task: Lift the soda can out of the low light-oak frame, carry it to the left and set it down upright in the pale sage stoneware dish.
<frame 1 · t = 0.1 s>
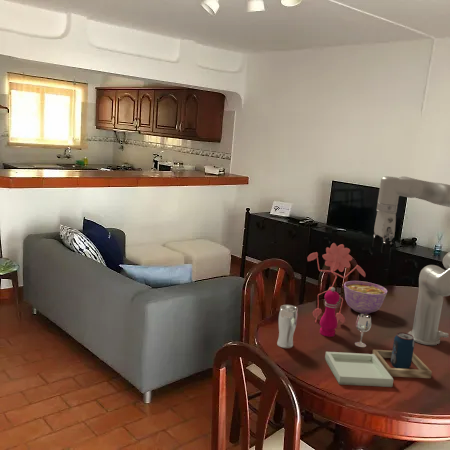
hand: (380, 250, 193), 37 cm above the table, tool pointing down, fingers open, 9 cm apart
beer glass: (284, 345, 185), on the table
oak frame: (400, 366, 175), on the table
sage dish: (356, 372, 167), on the table
bowl of food: (362, 310, 230), on the table
wineglass: (360, 345, 191), on the table
pepper mill: (327, 334, 199), on the table
soda can: (400, 367, 175), resting in oak frame
figurine: (329, 320, 214), on the table
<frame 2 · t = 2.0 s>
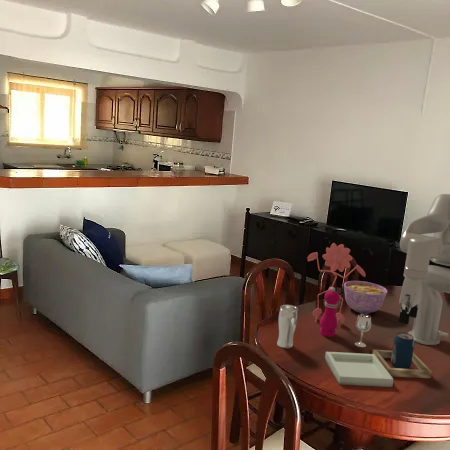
hand: (407, 319, 171), 18 cm above the table, tool pointing down, fingers open, 9 cm apart
nothing on the table moved.
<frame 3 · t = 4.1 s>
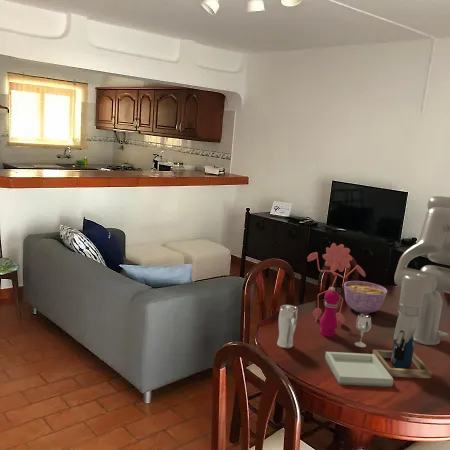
hand: (401, 355, 174), 4 cm above the table, tool pointing down, fingers closed on soda can, 7 cm apart
soda can: (400, 367, 175), resting in oak frame, touching gripper
everything else where it was.
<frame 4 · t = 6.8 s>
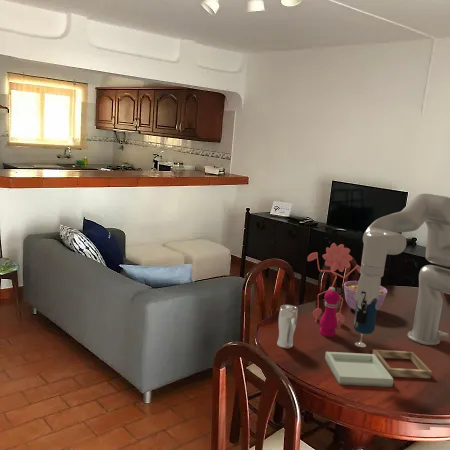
hand: (364, 319, 164), 19 cm above the table, tool pointing down, fingers closed on soda can, 7 cm apart
soda can: (363, 331, 165), point 15 cm above the table, touching gripper
everything else where it was.
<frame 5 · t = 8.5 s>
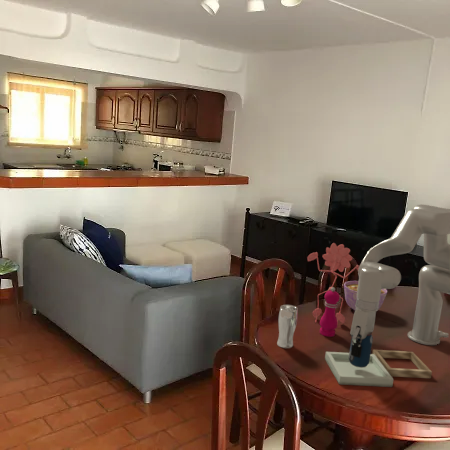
hand: (359, 352, 166), 7 cm above the table, tool pointing down, fingers closed on soda can, 7 cm apart
soda can: (358, 364, 167), point 3 cm above the table, touching gripper
everything else where it was.
when the fingers open (7 cm above the table, at t = 9.6 s): soda can drops 1 cm, resting on sage dish.
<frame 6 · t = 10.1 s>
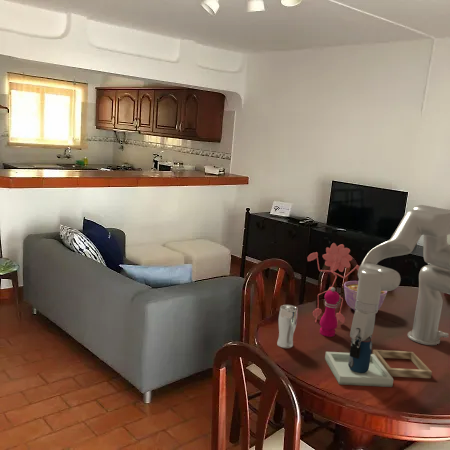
hand: (359, 352, 166), 7 cm above the table, tool pointing down, fingers open, 9 cm apart
soda can: (357, 370, 168), point 1 cm above the table, touching sage dish
everything else where it was.
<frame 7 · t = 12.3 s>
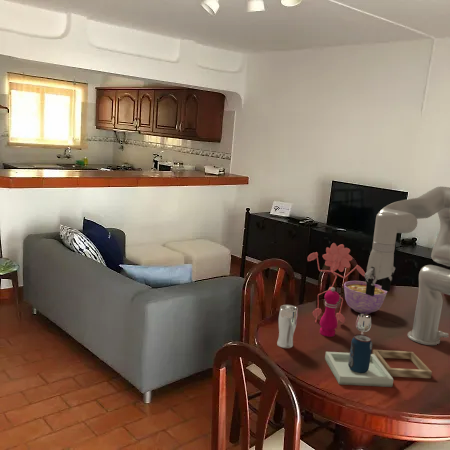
hand: (377, 292, 175), 25 cm above the table, tool pointing down, fingers open, 9 cm apart
nothing on the table moved.
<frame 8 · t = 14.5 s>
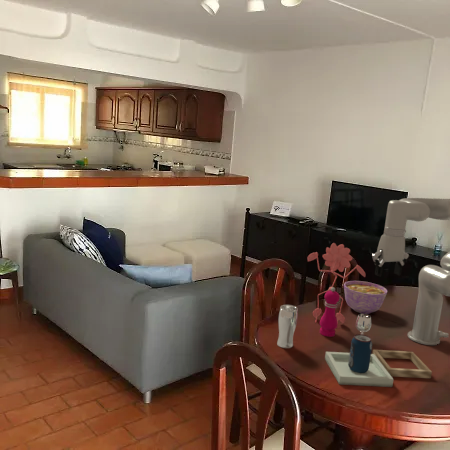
hand: (387, 275, 189), 28 cm above the table, tool pointing down, fingers open, 9 cm apart
nothing on the table moved.
at the end: soda can inside the target area on the sage dish (0.4 cm from its centre), point 0.6 cm above the sage dish's base; soda can tilted 0°; the gripper is holding nothing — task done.
